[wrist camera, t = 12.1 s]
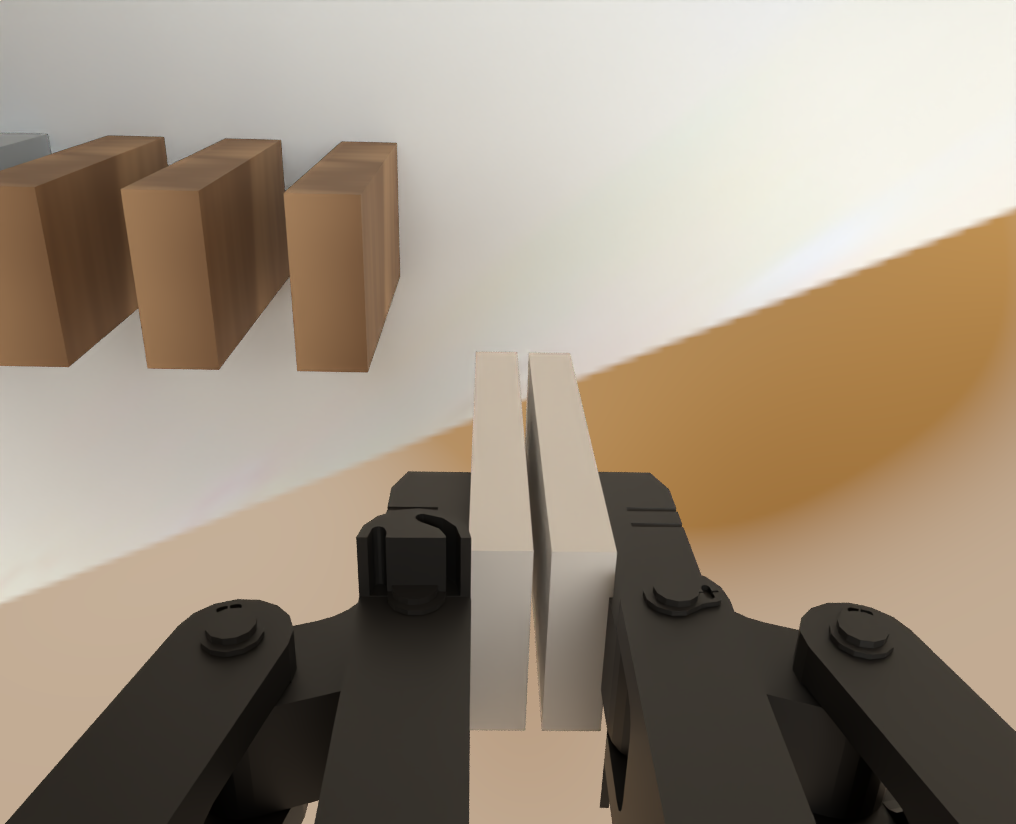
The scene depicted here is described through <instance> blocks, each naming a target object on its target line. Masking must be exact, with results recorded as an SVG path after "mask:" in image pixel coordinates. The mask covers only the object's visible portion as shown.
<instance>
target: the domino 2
mask: <svg viewBox="0 0 1016 824" xmlns="http://www.w3.org/2000/svg"><path fill="white" fill-rule="evenodd" d="M167 166H168V164H167V156H166V149H165V141H164V137H147V136H105V137H102V138H99V139H96V140H93V141H90V142H87V143H84V144H81V145H77V146H74V147H71V148H68V149H65V150H62V151H59V152H56V153H53V154H50V155H47V156H44V157H41V158H38V159H35V160H32V161H28V162H25V163H22V164H19V165H16V166H13V167H10V168H7V169H4V170H1V171H0V366H40V367H69V366H71V365H72V364H73V363H74V362H75V361H77V360H78V359H79V358H80V357H81V356H82V355H84V354H85V353H86V352H87V351H88V350H90V349H91V348H92V347H93V346H94V345H95V344H97V343H98V342H99V341H100V340H101V339H103V338H104V337H105V336H106V335H107V334H108V333H110V332H111V331H112V330H113V329H114V328H116V327H117V326H118V325H119V324H120V323H121V322H123V321H124V320H125V319H126V318H127V317H128V316H130V315H131V314H132V313H133V312H134V311H136V310H137V309H138V301H137V295H136V288H135V281H134V275H133V268H132V262H131V255H130V248H129V242H128V235H127V229H126V222H125V215H124V209H123V202H122V196H121V189H122V188H124V187H126V186H128V185H130V184H132V183H134V182H136V181H138V180H140V179H143V178H145V177H147V176H149V175H151V174H153V173H155V172H157V171H159V170H161V169H163V168H165V167H167Z"/></svg>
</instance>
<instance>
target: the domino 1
mask: <svg viewBox="0 0 1016 824" xmlns="http://www.w3.org/2000/svg"><path fill="white" fill-rule="evenodd" d="M50 154H51V150H50V144H49V138H48V134H33V133H0V171H1V170H4V169H7V168H10V167H13V166H16V165H19V164H22V163H25V162H28V161H32V160H35V159H38V158H41V157H44V156H47V155H50Z"/></svg>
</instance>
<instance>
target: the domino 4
mask: <svg viewBox="0 0 1016 824" xmlns="http://www.w3.org/2000/svg"><path fill="white" fill-rule="evenodd" d="M284 205H285V218H286V231H287V244H288V257H289V270H290V283H291V296H292V309H293V322H294V335H295V349H296V362H297V371H321V372H368V370H369V367H370V364H371V361H372V358H373V355H374V352H375V349H376V347H377V344H378V341H379V338H380V335H381V332H382V329H383V326H384V323H385V320H386V317H387V314H388V311H389V308H390V305H391V302H392V299H393V296H394V293H395V290H396V287H397V284H398V281H399V278H400V255H399V213H398V171H397V143H383V142H344V141H342V142H341V143H339V144H338V145H337V146H336V147H335V148H334V149H333V150H332V151H330V152H329V153H328V154H327V155H326V156H325V157H324V158H322V159H321V160H320V161H319V162H318V163H317V164H316V165H315V166H313V167H312V168H311V169H310V170H309V171H308V172H307V173H306V174H304V175H303V176H302V177H301V178H300V179H299V180H298V181H297V182H295V183H294V184H293V185H292V186H291V187H290V188H289V189H288V190H286V191H285V192H284Z"/></svg>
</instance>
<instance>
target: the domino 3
mask: <svg viewBox="0 0 1016 824" xmlns="http://www.w3.org/2000/svg"><path fill="white" fill-rule="evenodd" d="M284 192H285V188H284V175H283V161H282V148H281V140H265V139H226V138H225V139H223V140H221V141H219V142H217V143H215V144H213V145H211V146H209V147H207V148H205V149H203V150H200V151H198V152H196V153H194V154H192V155H190V156H188V157H186V158H184V159H182V160H180V161H178V162H176V163H174V164H172V165H169V166H167V167H165V168H163V169H161V170H159V171H157V172H155V173H153V174H151V175H149V176H147V177H145V178H143V179H140V180H138V181H136V182H134V183H132V184H130V185H128V186H126V187H124V188H122V189H121V196H122V202H123V209H124V215H125V222H126V229H127V235H128V242H129V248H130V255H131V262H132V268H133V275H134V281H135V288H136V295H137V301H138V308H139V314H140V321H141V328H142V334H143V341H144V347H145V354H146V361H147V367H148V368H152V369H207V370H219V369H220V368H221V366H222V365H223V364H224V362H225V361H226V360H227V358H228V357H229V356H230V354H231V353H232V352H233V350H234V349H235V348H236V346H237V345H238V344H239V342H240V341H241V340H242V339H243V337H244V336H245V335H246V333H247V332H248V331H249V329H250V328H251V327H252V325H253V324H254V323H255V321H256V320H257V319H258V317H259V316H260V315H261V313H262V312H263V311H264V309H265V308H266V307H267V305H268V304H269V303H270V301H271V300H272V299H273V297H274V296H275V295H276V293H277V292H278V291H279V289H280V288H281V287H282V285H283V284H284V283H285V281H286V280H287V279H288V277H289V276H290V270H289V257H288V244H287V231H286V218H285V205H284Z"/></svg>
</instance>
